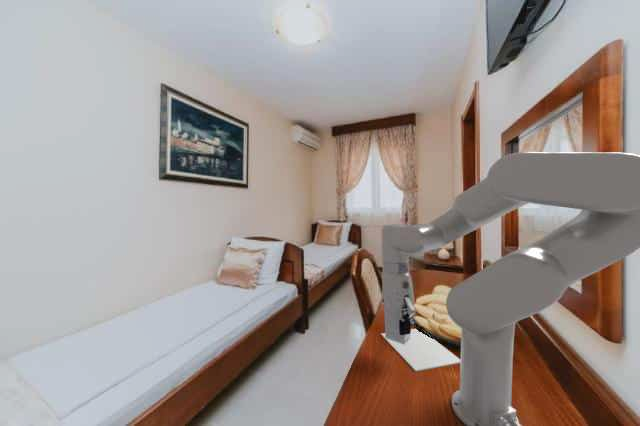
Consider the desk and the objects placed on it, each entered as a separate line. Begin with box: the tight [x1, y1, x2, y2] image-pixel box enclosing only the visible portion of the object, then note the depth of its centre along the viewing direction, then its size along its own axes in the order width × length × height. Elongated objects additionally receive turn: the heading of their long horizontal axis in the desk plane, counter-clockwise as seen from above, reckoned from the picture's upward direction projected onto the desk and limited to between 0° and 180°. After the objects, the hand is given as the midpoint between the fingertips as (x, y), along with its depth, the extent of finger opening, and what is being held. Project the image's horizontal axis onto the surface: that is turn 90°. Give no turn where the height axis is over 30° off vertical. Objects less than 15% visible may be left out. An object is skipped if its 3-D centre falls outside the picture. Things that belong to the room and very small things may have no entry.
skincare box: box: [383, 297, 410, 345], centre depth 72 cm, size 6×4×12 cm
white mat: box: [380, 328, 461, 372], centre depth 81 cm, size 20×16×1 cm
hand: (397, 327), depth 72 cm, fingers closed on skincare box, 7 cm apart
